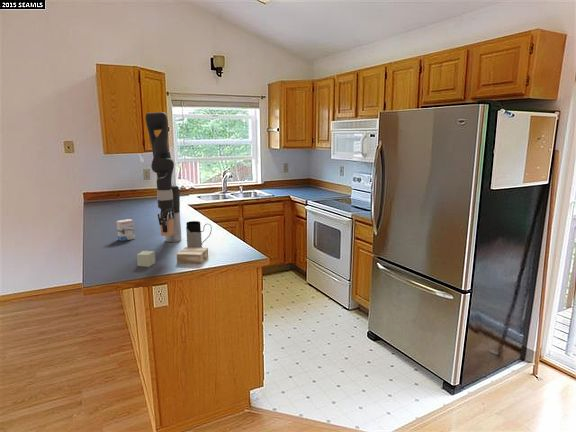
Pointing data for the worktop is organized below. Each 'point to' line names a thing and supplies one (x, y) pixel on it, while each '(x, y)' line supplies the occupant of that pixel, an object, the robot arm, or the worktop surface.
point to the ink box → (125, 229)
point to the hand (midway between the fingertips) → (167, 230)
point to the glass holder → (194, 234)
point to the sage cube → (146, 258)
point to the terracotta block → (168, 228)
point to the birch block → (192, 255)
